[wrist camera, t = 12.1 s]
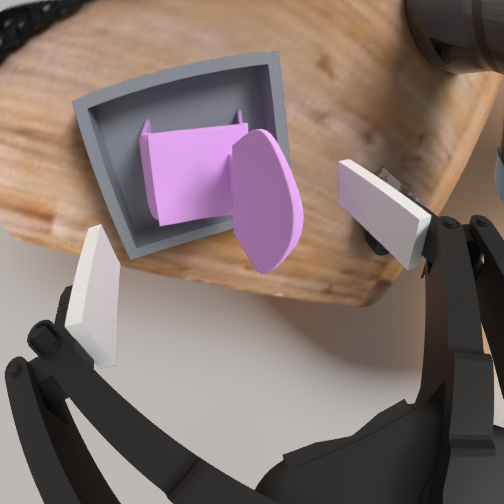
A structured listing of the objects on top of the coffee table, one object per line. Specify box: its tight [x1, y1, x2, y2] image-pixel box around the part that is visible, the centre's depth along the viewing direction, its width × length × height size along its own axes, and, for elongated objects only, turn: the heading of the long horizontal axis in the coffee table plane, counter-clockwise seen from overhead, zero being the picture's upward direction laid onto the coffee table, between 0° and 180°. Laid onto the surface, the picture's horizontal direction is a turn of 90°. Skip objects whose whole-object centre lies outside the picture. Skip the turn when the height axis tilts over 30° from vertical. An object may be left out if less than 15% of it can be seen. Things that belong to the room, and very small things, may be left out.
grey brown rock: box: [365, 168, 422, 255], centre depth 36 cm, size 7×11×10 cm
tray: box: [72, 51, 291, 260], centre depth 24 cm, size 16×15×4 cm
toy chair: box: [139, 110, 303, 274], centre depth 19 cm, size 8×9×15 cm
